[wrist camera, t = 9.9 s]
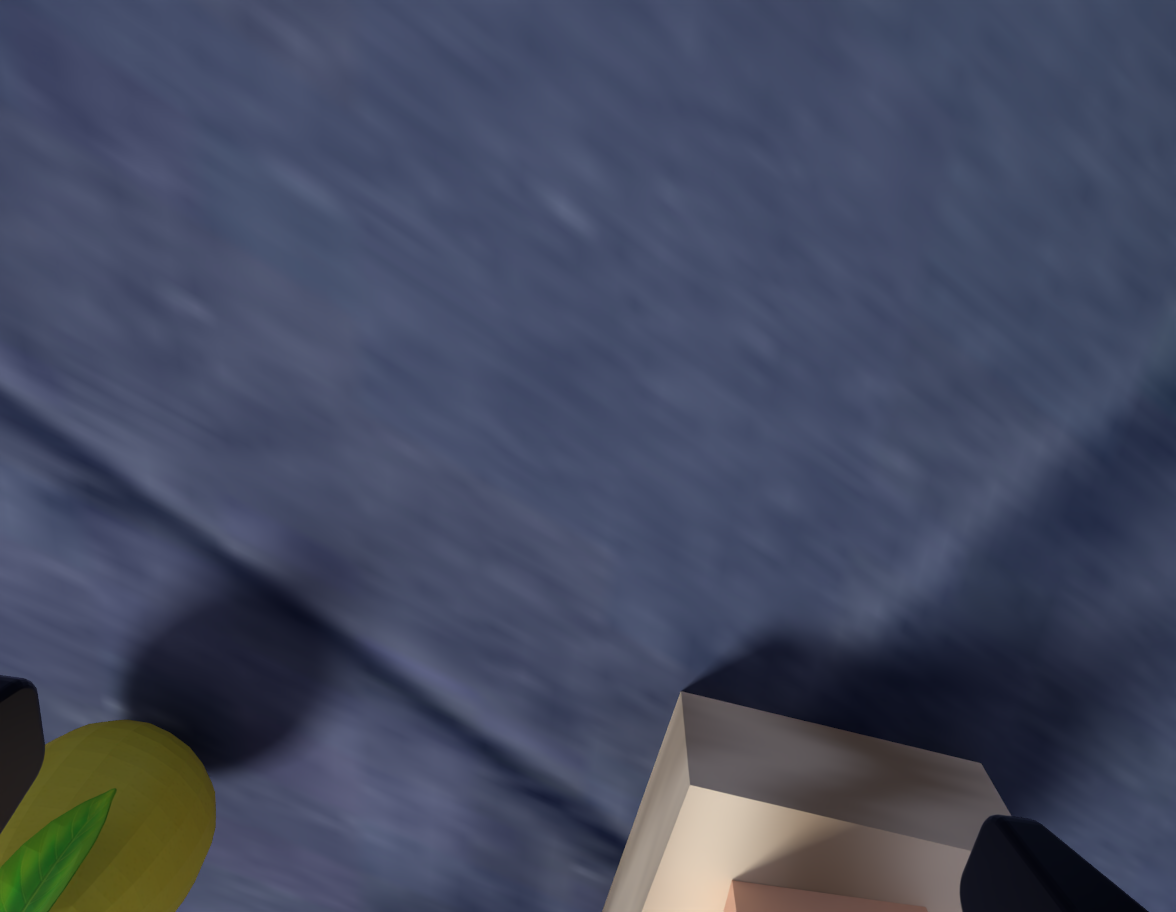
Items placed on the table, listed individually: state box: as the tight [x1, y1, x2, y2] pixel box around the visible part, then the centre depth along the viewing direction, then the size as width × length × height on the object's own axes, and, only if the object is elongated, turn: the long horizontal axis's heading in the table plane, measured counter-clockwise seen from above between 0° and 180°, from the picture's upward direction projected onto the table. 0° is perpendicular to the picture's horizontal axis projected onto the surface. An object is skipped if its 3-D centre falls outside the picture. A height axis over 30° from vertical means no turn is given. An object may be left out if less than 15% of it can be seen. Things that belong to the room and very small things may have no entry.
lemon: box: [0, 720, 216, 912], centre depth 20 cm, size 7×6×10 cm
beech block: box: [602, 691, 1011, 912], centre depth 23 cm, size 9×9×4 cm
